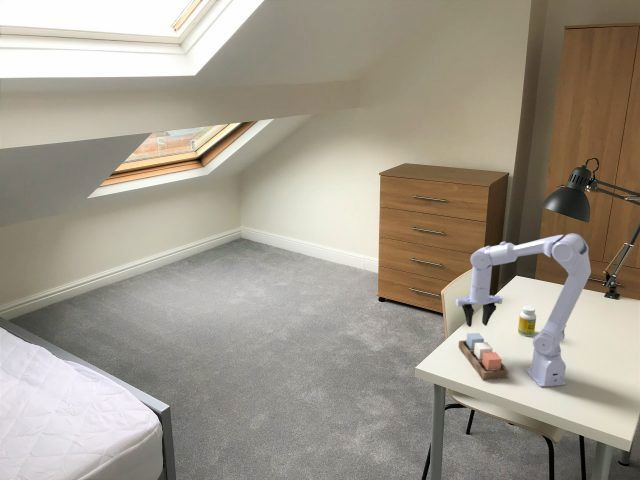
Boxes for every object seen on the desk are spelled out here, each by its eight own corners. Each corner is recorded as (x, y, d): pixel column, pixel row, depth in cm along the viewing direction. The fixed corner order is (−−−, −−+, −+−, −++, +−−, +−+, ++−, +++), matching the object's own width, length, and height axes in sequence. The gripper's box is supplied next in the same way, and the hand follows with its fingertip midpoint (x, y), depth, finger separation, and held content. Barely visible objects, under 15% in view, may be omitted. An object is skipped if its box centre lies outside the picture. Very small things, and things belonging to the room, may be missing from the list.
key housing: (508, 378, 158) (508, 371, 157) (483, 380, 157) (483, 373, 156) (480, 345, 176) (481, 339, 175) (458, 347, 175) (459, 340, 174)
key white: (491, 358, 164) (492, 348, 163) (479, 359, 164) (480, 349, 163) (485, 352, 168) (487, 342, 167) (473, 352, 167) (474, 343, 166)
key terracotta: (500, 369, 158) (501, 359, 157) (487, 370, 158) (488, 360, 157) (494, 362, 162) (495, 352, 161) (482, 363, 162) (483, 353, 161)
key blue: (483, 348, 170) (484, 338, 169) (471, 349, 170) (472, 339, 168) (477, 342, 174) (478, 332, 173) (466, 343, 173) (467, 333, 172)
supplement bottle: (524, 328, 188) (527, 303, 185) (537, 334, 184) (540, 308, 181) (514, 332, 185) (517, 307, 182) (527, 338, 181) (530, 312, 178)
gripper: (496, 279, 170) (492, 317, 174) (453, 281, 168) (450, 320, 172) (507, 288, 163) (502, 327, 167) (461, 290, 161) (458, 330, 166)
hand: (476, 324), depth 169 cm, fingers open, 5 cm apart
